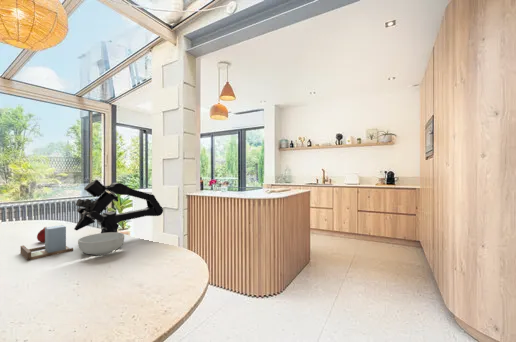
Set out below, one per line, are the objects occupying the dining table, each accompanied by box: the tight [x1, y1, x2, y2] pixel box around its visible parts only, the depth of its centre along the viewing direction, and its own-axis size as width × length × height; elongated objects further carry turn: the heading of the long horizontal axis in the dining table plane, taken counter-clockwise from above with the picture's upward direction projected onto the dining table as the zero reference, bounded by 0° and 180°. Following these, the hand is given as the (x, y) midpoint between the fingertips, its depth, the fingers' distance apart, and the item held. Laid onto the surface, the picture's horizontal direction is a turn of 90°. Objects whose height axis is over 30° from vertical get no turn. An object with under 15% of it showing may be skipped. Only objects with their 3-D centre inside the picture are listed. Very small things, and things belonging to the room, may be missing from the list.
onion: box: [36, 226, 46, 243], centre depth 117 cm, size 6×6×8 cm
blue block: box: [44, 224, 67, 253], centre depth 105 cm, size 6×5×10 cm
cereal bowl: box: [77, 231, 125, 257], centre depth 105 cm, size 17×17×7 cm
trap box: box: [20, 244, 74, 261], centre depth 103 cm, size 14×13×4 cm
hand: (75, 229), depth 111 cm, fingers closed
